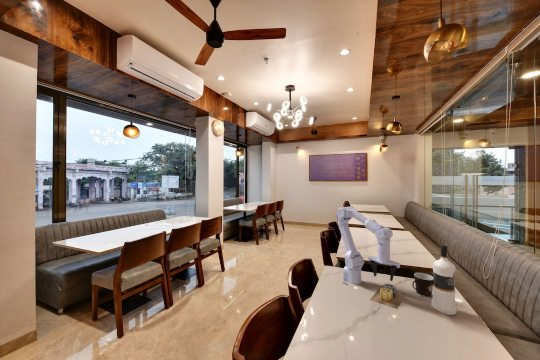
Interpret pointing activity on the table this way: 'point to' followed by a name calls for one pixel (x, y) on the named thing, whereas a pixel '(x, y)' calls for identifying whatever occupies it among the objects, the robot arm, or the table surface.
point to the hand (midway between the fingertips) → (383, 278)
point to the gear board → (394, 304)
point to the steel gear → (390, 288)
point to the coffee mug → (423, 284)
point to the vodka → (444, 284)
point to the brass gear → (386, 295)
